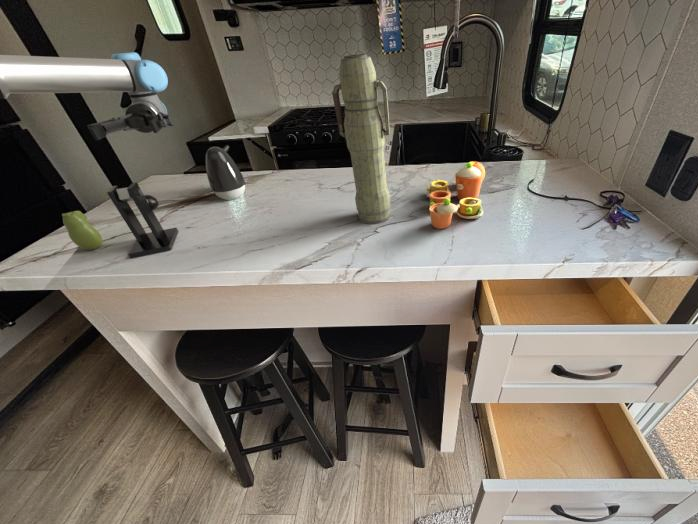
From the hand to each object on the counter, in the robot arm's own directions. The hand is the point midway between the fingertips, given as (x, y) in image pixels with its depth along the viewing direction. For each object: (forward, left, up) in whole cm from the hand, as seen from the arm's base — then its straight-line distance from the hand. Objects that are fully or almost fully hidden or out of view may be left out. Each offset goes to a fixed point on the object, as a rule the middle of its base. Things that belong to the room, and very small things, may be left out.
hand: (123, 131), depth 87 cm
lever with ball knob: (-5, -16, -15) cm, 22 cm away
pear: (-19, -9, -23) cm, 31 cm away
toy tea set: (+61, -59, -23) cm, 88 cm away
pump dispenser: (+19, -1, -23) cm, 30 cm away
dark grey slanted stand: (-6, -19, -23) cm, 31 cm away
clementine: (+76, -51, -23) cm, 95 cm away
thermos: (+43, -47, -23) cm, 68 cm away
